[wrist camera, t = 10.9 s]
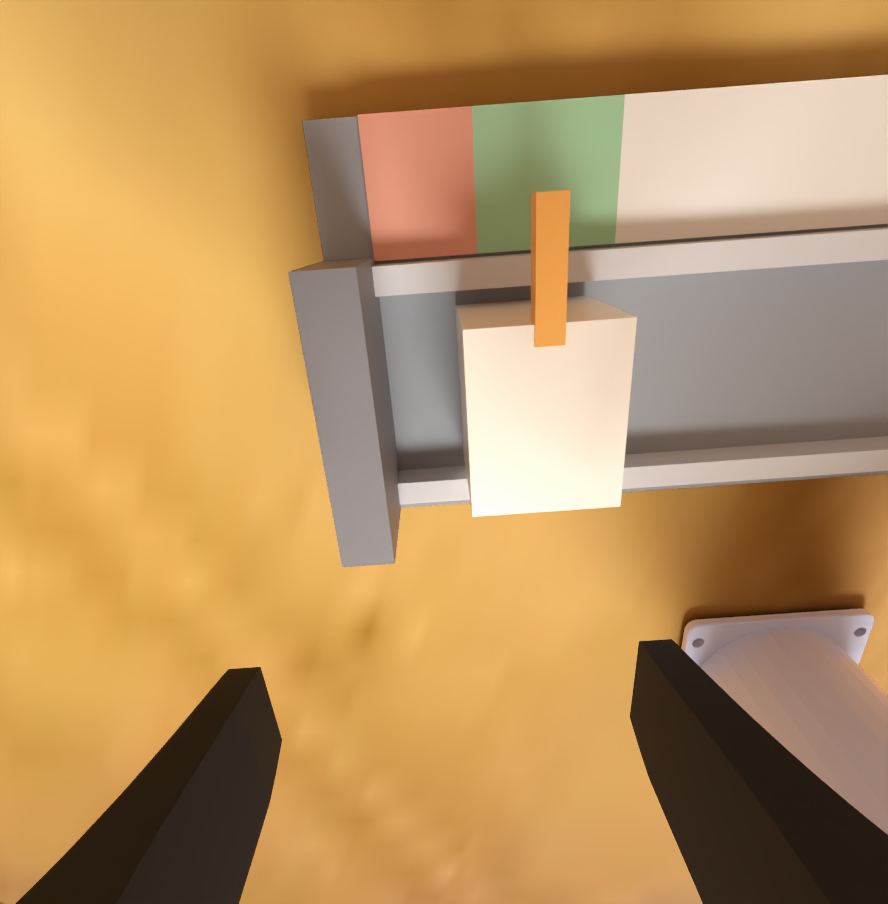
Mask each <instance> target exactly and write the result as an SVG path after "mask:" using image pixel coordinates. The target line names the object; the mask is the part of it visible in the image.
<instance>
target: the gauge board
mask: <svg viewBox="0 0 888 904" xmlns="http://www.w3.org/2000/svg"><path fill="white" fill-rule="evenodd" d="M302 123H303V130H304V136H305V143H306V149H307V156H308V162H309V169H310V175H311V182H312V188H313V195H314V201H315V207H316V214H317V220H318V227H319V233H320V240H321V246H322V253H323V259H324V261H322V262H319V263H316V264H312V265H309V266H306V267H303V268H300V269H296V270H293V271H290V272H288V273H289V278H290V284H291V289H292V295H293V300H294V306H295V311H296V317H297V322H298V328H299V333H300V338H301V344H302V349H303V355H304V360H305V366H306V371H307V377H308V382H309V387H310V393H311V398H312V404H313V409H314V415H315V420H316V426H317V431H318V437H319V442H320V447H321V453H322V458H323V464H324V469H325V475H326V480H327V486H328V491H329V497H330V502H331V507H332V513H333V518H334V524H335V529H336V535H337V540H338V546H339V551H340V556H341V562H342V567H352V566H366V565H381V564H395V556H396V547H397V538H398V529H399V520H400V511H401V508H403V507H417V506H432V505H446V504H460V503H470V497H469V490H468V483H467V476H466V468H465V461H464V453H463V435H462V417H461V399H460V381H459V363H458V346H457V328H456V310H455V305H464V304H478V303H492V302H506V301H519V300H531V194H533V193H536V192H546V191H560V190H570V219H569V250H568V281H567V297H575V296H590V297H592V298H594V299H597V300H599V301H601V302H603V303H606V304H608V305H610V306H613V307H615V308H617V309H619V310H622V311H624V312H626V313H628V314H631V315H633V316H635V317H637V325H636V336H635V347H634V359H633V370H632V381H631V392H630V404H629V415H628V426H627V437H626V449H625V460H624V471H623V483H622V492H633V491H647V490H661V489H676V488H690V487H704V486H719V485H733V484H747V483H762V482H776V481H790V480H805V479H819V478H834V477H848V476H862V475H877V474H888V75H877V76H864V77H850V78H837V79H824V80H811V81H797V82H784V83H771V84H757V85H744V86H731V87H718V88H704V89H691V90H678V91H664V92H651V93H638V94H625V95H611V96H598V97H585V98H571V99H558V100H545V101H532V102H518V103H505V104H492V105H478V106H465V107H452V108H438V109H425V110H412V111H399V112H385V113H372V114H359V115H357V116H354V117H340V118H327V119H314V120H302Z"/></svg>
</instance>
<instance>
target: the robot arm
mask: <svg viewBox="0 0 888 904" xmlns="http://www.w3.org/2000/svg"><path fill="white" fill-rule="evenodd" d="M873 623H874V616H873V615H872V614H871V613H870V612H869V611H867V610H866V609H861V608H859V609H844V610H829V611H815V612H800V613H785V614H770V615H756V616H741V617H726V618H711V619H697V620H693V621H691V622H689V623H688V624H687V625H686V627H685V629H684V635H683V641H682V647H681V648H680V647H679V646H678V645H677V644H676V643H675V642H674V641H673V640H672V639H669V640H654V641H639V647H638V655H637V663H636V671H635V680H634V688H633V696H632V704H631V712H630V719H631V722H632V725H633V729H634V732H635V735H636V739H637V742H638V745H639V749H640V752H641V755H642V758H643V761H644V764H645V767H646V770H647V773H648V776H649V779H650V781H651V783H652V786H653V788H654V791H655V793H656V795H657V798H658V800H659V802H660V805H661V807H662V809H663V812H664V814H665V816H666V819H667V821H668V823H669V826H670V828H671V830H672V833H673V835H674V837H675V840H676V842H677V844H678V847H679V849H680V851H681V854H682V856H683V858H684V861H685V863H686V865H687V867H688V870H689V872H690V874H691V877H692V879H693V881H694V884H695V886H696V888H697V891H698V893H699V895H700V898H701V900H702V902H703V904H888V695H887V694H886V693H885V692H884V691H883V690H882V689H881V688H880V687H879V686H878V685H877V684H876V683H875V682H874V681H873V680H872V679H871V678H870V677H869V676H868V675H867V674H866V673H865V671H864V670H863V669H862V668H861V667H860V666H859V665H858V664H859V662H860V659H861V656H862V653H863V651H864V648H865V645H866V642H867V640H868V637H869V634H870V632H871V629H872V626H873ZM695 639H697V640H695ZM281 743H282V739H281V735H280V732H279V728H278V725H277V722H276V718H275V715H274V712H273V708H272V705H271V701H270V698H269V695H268V691H267V688H266V684H265V681H264V678H263V674H262V671H261V667H255V668H240V669H229V670H228V671H227V672H226V673H225V674H224V675H223V676H222V677H221V678H220V680H219V681H218V682H217V683H216V684H215V685H214V687H213V688H212V689H211V690H210V691H209V693H208V694H207V695H206V696H205V697H204V699H203V700H202V701H201V702H200V703H199V705H198V706H197V707H196V708H195V709H194V711H193V712H192V713H191V714H190V715H189V716H188V718H187V719H186V720H185V721H184V722H183V724H182V725H181V726H180V727H179V728H178V730H177V731H176V732H175V733H174V734H173V735H172V737H171V738H170V739H169V740H168V741H167V743H166V744H165V745H164V746H163V747H162V748H161V749H160V751H159V752H158V753H157V754H156V755H155V756H154V757H153V759H152V760H151V761H150V762H149V763H148V764H147V765H146V767H145V768H144V769H143V770H142V771H141V772H140V773H139V775H138V776H137V777H136V778H135V779H134V780H133V781H132V783H131V784H130V785H129V786H128V787H127V788H126V789H125V790H124V792H123V793H122V794H121V795H120V796H119V797H118V798H117V799H116V800H115V801H114V802H113V804H112V805H111V806H110V807H109V808H108V809H107V810H106V811H105V812H104V813H103V814H102V815H101V816H100V818H99V819H98V820H97V821H96V822H95V823H94V824H93V825H92V826H91V827H90V828H89V829H88V830H87V831H86V833H85V834H84V835H83V836H82V837H81V838H80V839H79V840H78V841H77V842H76V843H75V844H74V845H73V846H72V848H71V849H70V850H69V851H68V852H67V853H66V854H65V855H64V856H63V857H62V858H61V859H60V860H59V861H58V862H57V863H56V864H55V865H54V866H53V867H52V868H51V869H50V870H49V871H48V872H47V873H46V874H45V875H44V876H43V877H42V878H41V879H40V880H39V881H38V882H37V883H36V884H35V885H34V886H33V887H32V888H31V889H30V890H29V891H28V892H27V893H26V894H25V895H24V896H23V897H22V898H21V899H20V900H19V901H18V902H17V903H16V904H239V901H240V898H241V895H242V891H243V888H244V885H245V882H246V878H247V875H248V872H249V869H250V866H251V862H252V859H253V856H254V853H255V849H256V846H257V843H258V839H259V836H260V833H261V830H262V826H263V823H264V820H265V816H266V813H267V809H268V806H269V803H270V799H271V794H272V789H273V784H274V779H275V775H276V770H277V764H278V759H279V753H280V748H281Z"/></svg>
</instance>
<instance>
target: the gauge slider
mask: <svg viewBox="0 0 888 904" xmlns="http://www.w3.org/2000/svg"><path fill="white" fill-rule="evenodd" d="M569 219H570V190H560V191H546V192H536V193H533V194H531V300H519V301H506V302H492V303H478V304H464V305H455V310H456V328H457V346H458V363H459V381H460V399H461V417H462V435H463V453H464V461H465V468H466V476H467V483H468V490H469V497H470V504H471V511H472V517H477V516H491V515H505V514H520V513H534V512H549V511H563V510H577V509H592V508H606V507H620V505H621V494H622V483H623V471H624V460H625V449H626V437H627V426H628V415H629V404H630V392H631V381H632V370H633V359H634V347H635V336H636V325H637V317H635V316H633V315H631V314H628V313H626V312H624V311H622V310H619V309H617V308H615V307H613V306H610V305H608V304H606V303H603V302H601V301H599V300H597V299H594V298H592V297H590V296H575V297H567V281H568V250H569Z"/></svg>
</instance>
